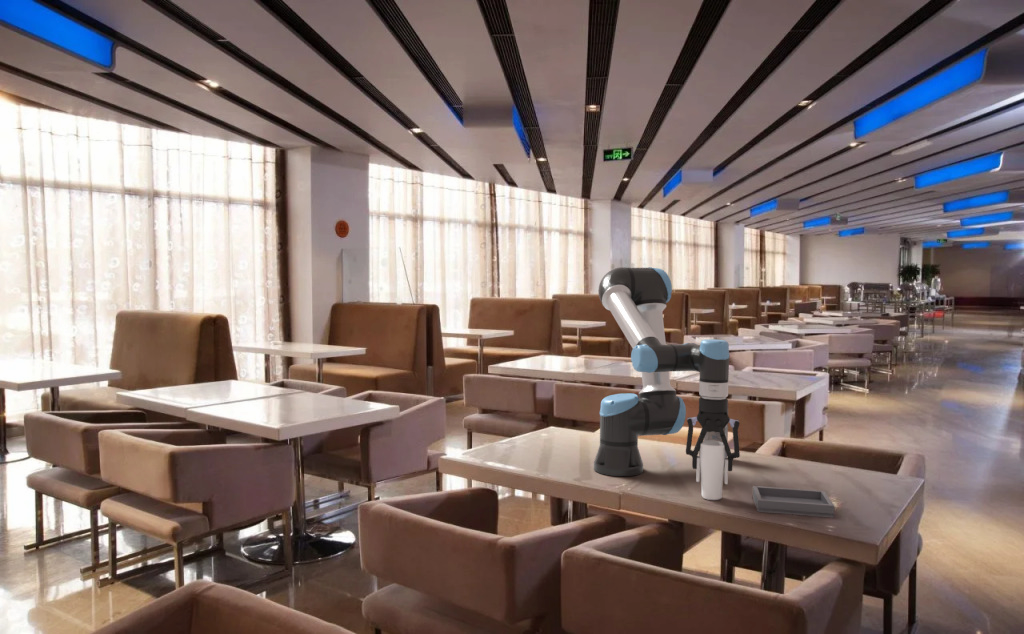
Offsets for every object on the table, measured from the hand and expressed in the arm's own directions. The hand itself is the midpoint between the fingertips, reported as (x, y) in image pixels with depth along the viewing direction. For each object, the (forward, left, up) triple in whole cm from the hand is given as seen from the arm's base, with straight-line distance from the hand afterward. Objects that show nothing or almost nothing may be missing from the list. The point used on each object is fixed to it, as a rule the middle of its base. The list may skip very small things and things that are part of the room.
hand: (711, 481), depth 189 cm
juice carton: (+3, +44, -5) cm, 44 cm away
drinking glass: (0, 0, -5) cm, 5 cm away
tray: (+20, -2, -4) cm, 21 cm away
